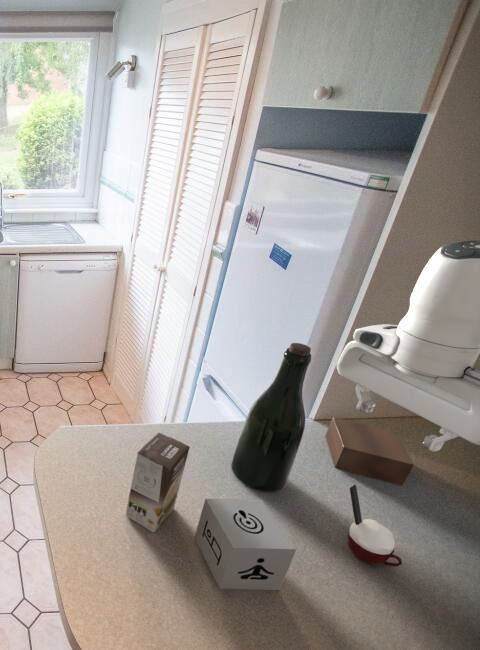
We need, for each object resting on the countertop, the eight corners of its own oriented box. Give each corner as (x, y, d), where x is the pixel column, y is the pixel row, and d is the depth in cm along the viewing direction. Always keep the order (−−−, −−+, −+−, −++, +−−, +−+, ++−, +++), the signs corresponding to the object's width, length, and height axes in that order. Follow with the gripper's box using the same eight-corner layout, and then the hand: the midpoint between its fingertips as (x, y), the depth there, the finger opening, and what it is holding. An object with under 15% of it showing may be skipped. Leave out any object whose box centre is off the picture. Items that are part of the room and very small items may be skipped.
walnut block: (386, 451, 108) (396, 431, 105) (402, 486, 98) (414, 464, 95) (324, 436, 113) (332, 416, 110) (334, 467, 103) (343, 447, 100)
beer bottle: (295, 484, 98) (346, 351, 85) (265, 501, 94) (314, 364, 81) (249, 454, 107) (289, 329, 93) (219, 468, 103) (257, 340, 89)
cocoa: (402, 574, 79) (430, 525, 74) (369, 578, 79) (395, 528, 74) (354, 529, 88) (377, 482, 83) (325, 531, 87) (345, 484, 82)
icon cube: (194, 537, 86) (205, 498, 82) (247, 539, 86) (261, 500, 82) (219, 588, 77) (233, 547, 73) (279, 590, 77) (296, 549, 73)
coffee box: (155, 534, 87) (170, 470, 80) (124, 515, 91) (136, 453, 84) (175, 507, 93) (190, 446, 86) (145, 490, 97) (158, 430, 90)
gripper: (545, 386, 57) (494, 470, 63) (373, 320, 75) (345, 390, 81) (512, 395, 56) (463, 480, 61) (344, 325, 74) (318, 396, 79)
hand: (395, 428), depth 71 cm, fingers open, 8 cm apart
